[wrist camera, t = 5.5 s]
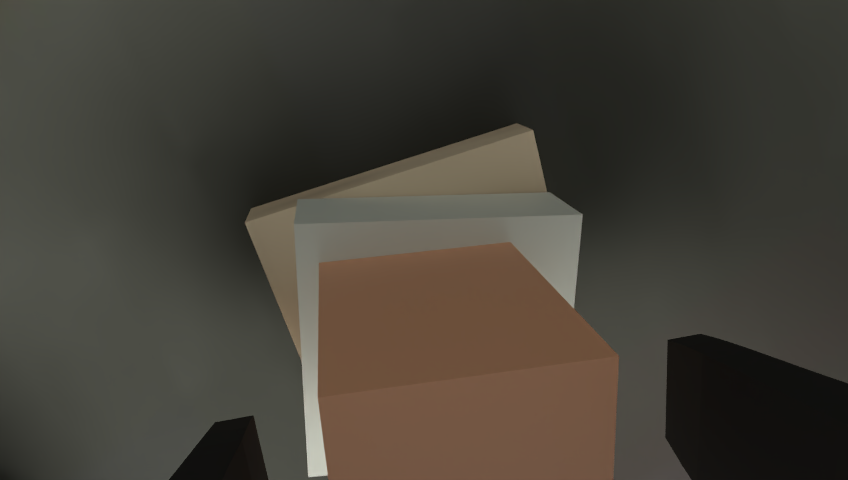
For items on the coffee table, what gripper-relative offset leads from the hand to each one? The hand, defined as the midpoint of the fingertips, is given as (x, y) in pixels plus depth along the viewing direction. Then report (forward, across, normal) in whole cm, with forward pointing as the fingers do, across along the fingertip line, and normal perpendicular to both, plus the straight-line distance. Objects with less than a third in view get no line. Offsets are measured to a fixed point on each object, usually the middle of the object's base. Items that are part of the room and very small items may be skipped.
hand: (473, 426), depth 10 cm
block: (+3, 0, 0) cm, 3 cm away
